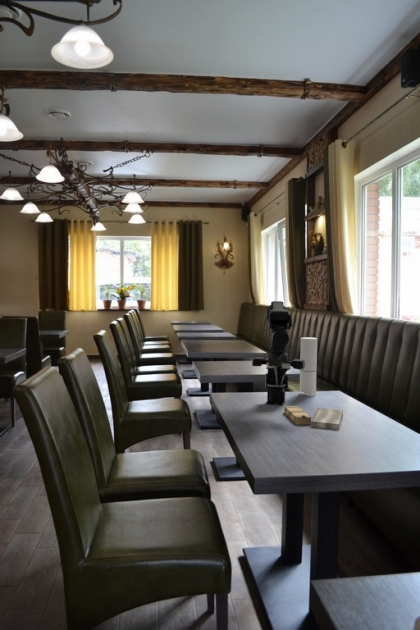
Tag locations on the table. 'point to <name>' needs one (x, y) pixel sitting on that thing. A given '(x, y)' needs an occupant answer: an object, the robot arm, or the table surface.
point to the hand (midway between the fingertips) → (278, 386)
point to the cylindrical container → (308, 366)
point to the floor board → (327, 418)
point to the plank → (297, 415)
